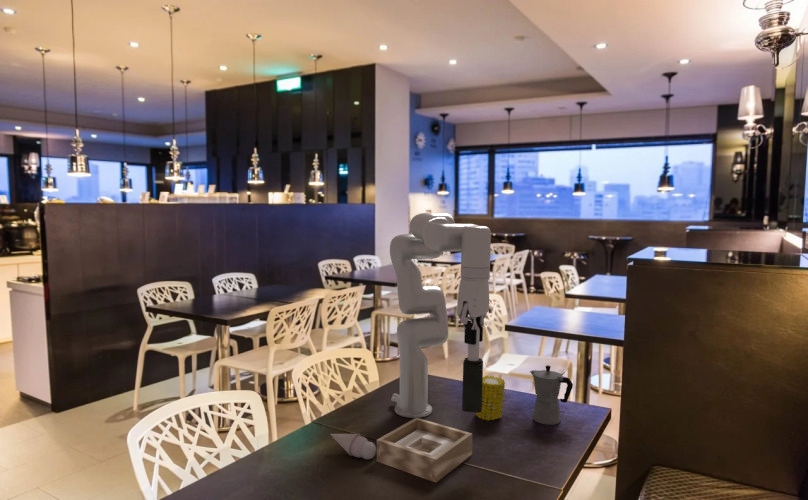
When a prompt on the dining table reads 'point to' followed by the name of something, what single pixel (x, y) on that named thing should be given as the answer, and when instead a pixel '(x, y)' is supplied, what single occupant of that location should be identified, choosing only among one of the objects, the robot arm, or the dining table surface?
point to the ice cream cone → (356, 445)
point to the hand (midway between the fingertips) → (473, 341)
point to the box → (424, 448)
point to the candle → (472, 378)
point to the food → (492, 398)
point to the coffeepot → (549, 395)
